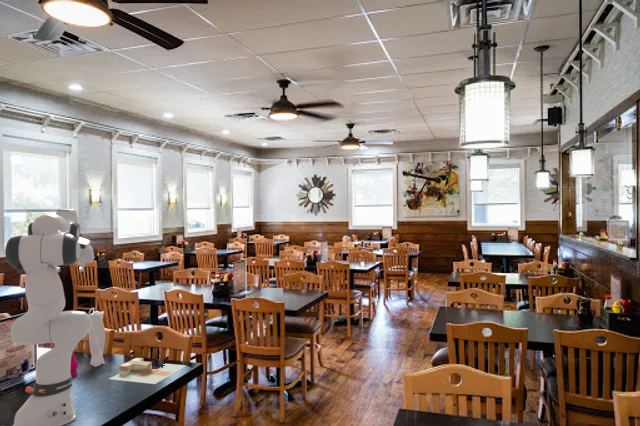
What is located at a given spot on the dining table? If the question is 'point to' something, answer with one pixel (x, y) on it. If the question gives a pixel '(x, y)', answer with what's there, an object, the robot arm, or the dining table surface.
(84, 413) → the dining table surface
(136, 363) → the T block
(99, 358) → the skyscraper
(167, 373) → the mat
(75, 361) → the pepper mill
